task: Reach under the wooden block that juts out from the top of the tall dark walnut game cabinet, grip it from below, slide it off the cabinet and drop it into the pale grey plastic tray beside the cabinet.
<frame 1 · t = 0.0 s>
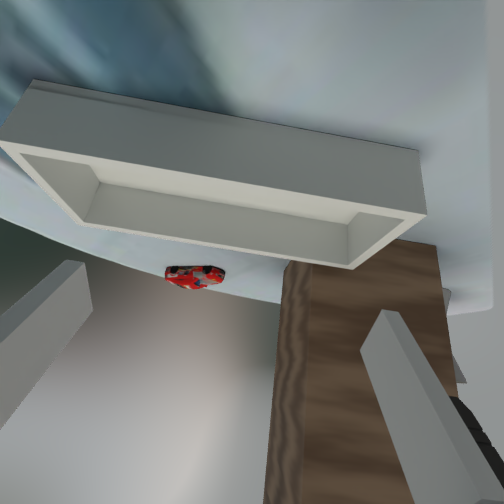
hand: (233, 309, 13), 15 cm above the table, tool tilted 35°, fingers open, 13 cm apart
tray: (229, 167, 27), on the table
race car: (196, 268, 58), on the table
game cabinet: (346, 260, 43), on the table
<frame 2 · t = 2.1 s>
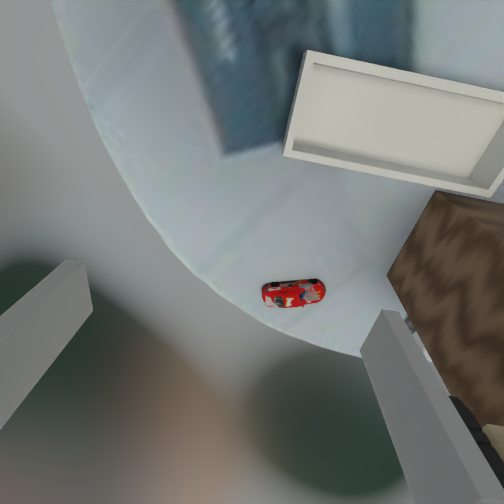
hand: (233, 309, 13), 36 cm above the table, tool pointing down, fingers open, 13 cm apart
tray: (392, 124, 40), on the table
race car: (293, 288, 59), on the table
game cabinet: (451, 245, 50), on the table
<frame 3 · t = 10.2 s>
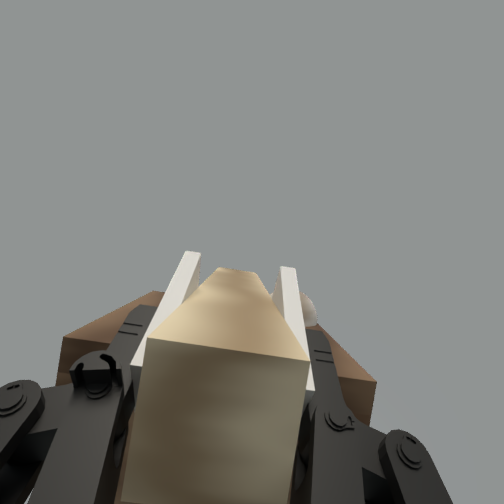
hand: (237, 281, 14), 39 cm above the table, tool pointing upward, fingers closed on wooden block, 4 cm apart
wooden block: (226, 344, 18), point 34 cm above the table, touching game cabinet, gripper
when the fingers open (32 cm above the table, at t = 17.8 s): wooden block drops 26 cm, resting on tray.
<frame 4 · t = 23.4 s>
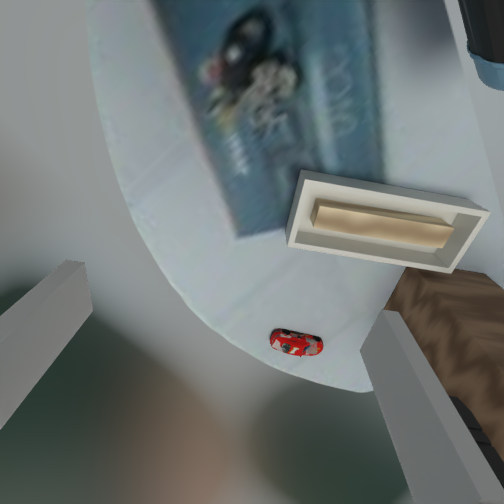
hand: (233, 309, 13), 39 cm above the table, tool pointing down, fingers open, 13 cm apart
tray: (372, 215, 51), on the table
race car: (296, 337, 69), on the table
wooden block: (375, 218, 50), point 1 cm above the table, touching tray
game cabinet: (426, 301, 60), on the table
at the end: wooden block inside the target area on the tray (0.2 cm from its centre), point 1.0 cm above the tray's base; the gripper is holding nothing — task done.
